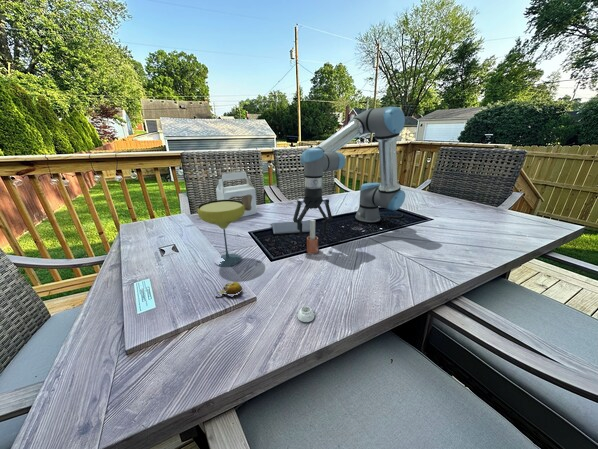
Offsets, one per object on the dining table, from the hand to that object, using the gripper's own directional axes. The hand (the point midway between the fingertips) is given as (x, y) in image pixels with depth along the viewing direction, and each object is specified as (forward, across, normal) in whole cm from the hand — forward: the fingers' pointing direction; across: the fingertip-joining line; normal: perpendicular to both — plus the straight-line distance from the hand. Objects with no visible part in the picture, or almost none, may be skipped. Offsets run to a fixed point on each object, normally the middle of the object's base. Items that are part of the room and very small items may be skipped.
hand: (312, 235), depth 112 cm
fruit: (+8, -35, -25) cm, 44 cm away
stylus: (+8, 0, 0) cm, 8 cm away
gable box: (+8, -38, +63) cm, 74 cm away
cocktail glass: (+8, -38, -2) cm, 39 cm away
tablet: (+8, -5, +31) cm, 32 cm away
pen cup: (+8, 0, 0) cm, 8 cm away
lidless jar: (+8, -11, -42) cm, 44 cm away
